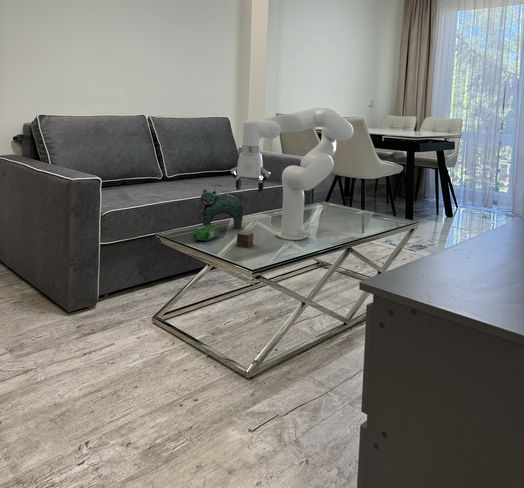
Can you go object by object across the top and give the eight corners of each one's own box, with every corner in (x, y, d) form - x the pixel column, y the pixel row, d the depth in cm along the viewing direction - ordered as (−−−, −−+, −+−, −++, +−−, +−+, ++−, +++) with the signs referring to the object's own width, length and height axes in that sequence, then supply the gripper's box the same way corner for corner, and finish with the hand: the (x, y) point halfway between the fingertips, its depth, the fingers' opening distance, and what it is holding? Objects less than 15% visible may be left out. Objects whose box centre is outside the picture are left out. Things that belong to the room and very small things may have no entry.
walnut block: (252, 244, 204) (253, 232, 204) (247, 247, 199) (248, 235, 199) (241, 243, 206) (242, 231, 206) (236, 245, 201) (237, 233, 201)
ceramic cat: (199, 228, 226) (201, 185, 225) (199, 225, 233) (200, 183, 232) (242, 229, 230) (244, 186, 228) (241, 226, 236) (243, 184, 235)
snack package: (189, 242, 203) (189, 229, 203) (206, 233, 218) (206, 222, 218) (204, 244, 201) (205, 232, 200) (220, 236, 216) (221, 224, 215)
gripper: (228, 149, 206) (226, 190, 207) (268, 152, 200) (265, 194, 201) (235, 148, 213) (233, 187, 214) (273, 151, 207) (271, 191, 208)
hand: (249, 190), depth 208 cm, fingers open, 9 cm apart
